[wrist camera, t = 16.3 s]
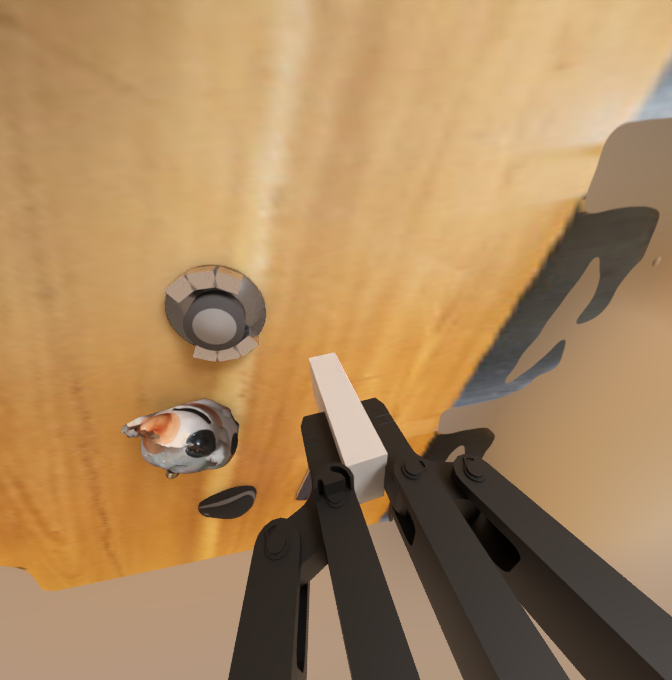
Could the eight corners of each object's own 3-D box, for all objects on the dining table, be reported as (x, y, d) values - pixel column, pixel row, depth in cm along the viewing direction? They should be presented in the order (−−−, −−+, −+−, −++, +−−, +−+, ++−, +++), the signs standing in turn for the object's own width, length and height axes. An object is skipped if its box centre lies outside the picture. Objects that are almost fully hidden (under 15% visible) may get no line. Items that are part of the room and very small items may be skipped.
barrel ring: (272, 339, 39) (274, 351, 36) (187, 355, 36) (181, 369, 33) (254, 259, 33) (255, 265, 30) (150, 271, 30) (138, 279, 27)
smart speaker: (187, 331, 34) (179, 345, 30) (193, 283, 31) (186, 294, 28) (240, 340, 37) (238, 354, 33) (250, 297, 34) (249, 308, 31)
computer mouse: (194, 499, 53) (190, 519, 50) (251, 479, 55) (251, 497, 52) (207, 514, 57) (204, 533, 53) (259, 495, 59) (260, 513, 55)
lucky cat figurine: (138, 442, 41) (72, 491, 28) (175, 378, 43) (129, 396, 29) (223, 472, 45) (199, 530, 31) (254, 412, 46) (245, 443, 32)
